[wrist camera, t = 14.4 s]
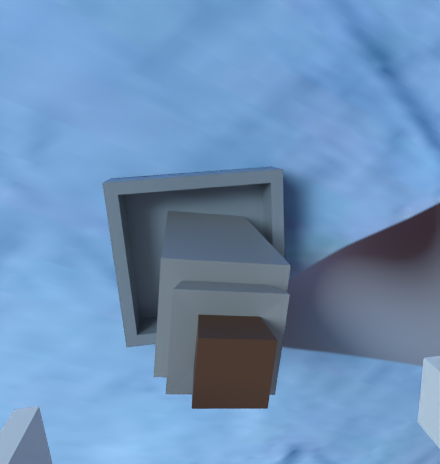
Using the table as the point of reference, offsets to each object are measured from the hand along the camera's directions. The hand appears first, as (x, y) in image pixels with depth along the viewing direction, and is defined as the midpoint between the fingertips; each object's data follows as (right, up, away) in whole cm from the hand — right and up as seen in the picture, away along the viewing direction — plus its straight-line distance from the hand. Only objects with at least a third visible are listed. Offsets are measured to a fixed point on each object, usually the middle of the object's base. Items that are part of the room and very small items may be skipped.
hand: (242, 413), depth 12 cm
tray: (-3, +5, +20) cm, 21 cm away
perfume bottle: (-2, +5, +20) cm, 21 cm away
